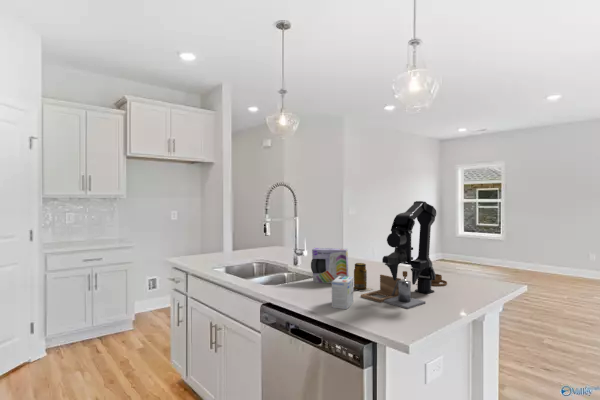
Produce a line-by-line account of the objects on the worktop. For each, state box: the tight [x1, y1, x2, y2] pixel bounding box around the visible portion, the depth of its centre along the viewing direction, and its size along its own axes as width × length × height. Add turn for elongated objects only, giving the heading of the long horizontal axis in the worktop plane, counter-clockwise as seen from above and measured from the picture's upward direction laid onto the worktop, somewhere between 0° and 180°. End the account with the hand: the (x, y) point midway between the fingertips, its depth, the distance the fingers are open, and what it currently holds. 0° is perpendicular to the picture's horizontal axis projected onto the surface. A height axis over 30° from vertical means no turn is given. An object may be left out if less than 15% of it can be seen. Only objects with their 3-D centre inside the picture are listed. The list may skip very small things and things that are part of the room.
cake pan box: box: [310, 247, 350, 284], centre depth 188 cm, size 19×5×18 cm, turn 71°
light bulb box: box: [331, 276, 354, 310], centre depth 149 cm, size 11×7×11 cm, turn 159°
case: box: [360, 274, 401, 303], centre depth 161 cm, size 14×11×8 cm
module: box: [398, 278, 412, 303], centre depth 152 cm, size 5×5×9 cm
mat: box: [383, 296, 426, 310], centre depth 152 cm, size 12×12×1 cm
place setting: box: [402, 270, 448, 287], centre depth 188 cm, size 18×20×6 cm
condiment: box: [353, 262, 373, 292], centre depth 175 cm, size 7×8×12 cm
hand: (404, 282), depth 151 cm, fingers open, 9 cm apart
